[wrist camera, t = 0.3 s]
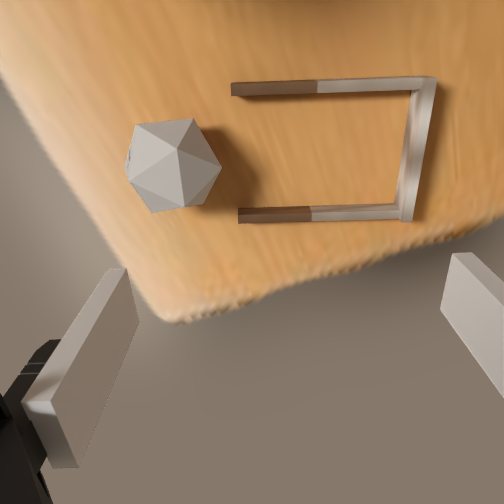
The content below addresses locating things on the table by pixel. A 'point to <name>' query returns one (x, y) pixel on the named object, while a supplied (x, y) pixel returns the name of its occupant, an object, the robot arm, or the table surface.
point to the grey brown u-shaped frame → (410, 158)
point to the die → (171, 164)
